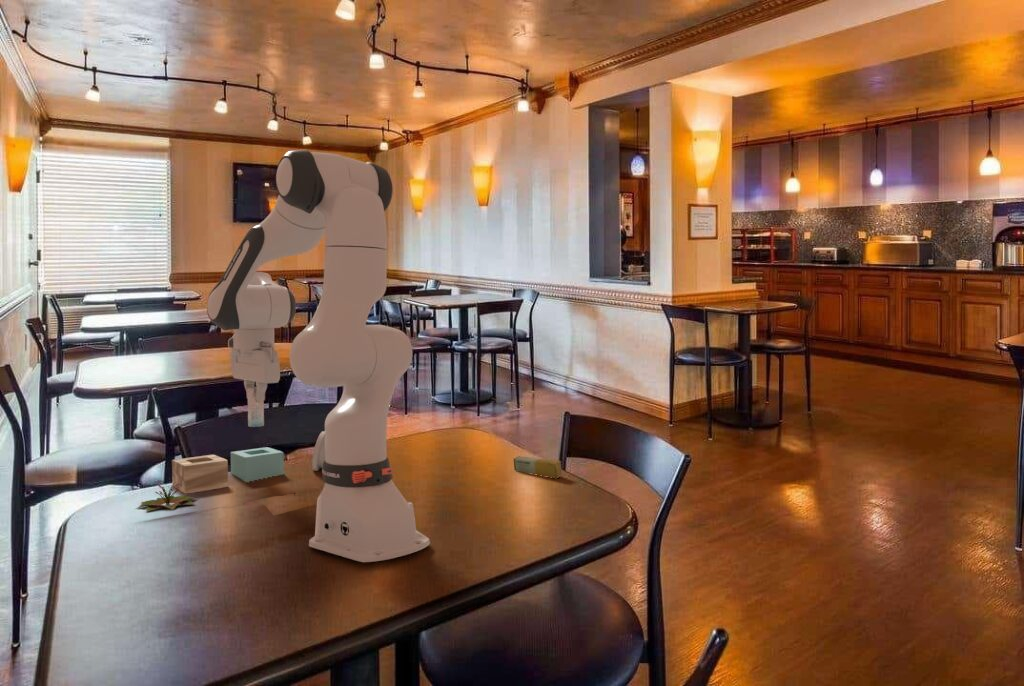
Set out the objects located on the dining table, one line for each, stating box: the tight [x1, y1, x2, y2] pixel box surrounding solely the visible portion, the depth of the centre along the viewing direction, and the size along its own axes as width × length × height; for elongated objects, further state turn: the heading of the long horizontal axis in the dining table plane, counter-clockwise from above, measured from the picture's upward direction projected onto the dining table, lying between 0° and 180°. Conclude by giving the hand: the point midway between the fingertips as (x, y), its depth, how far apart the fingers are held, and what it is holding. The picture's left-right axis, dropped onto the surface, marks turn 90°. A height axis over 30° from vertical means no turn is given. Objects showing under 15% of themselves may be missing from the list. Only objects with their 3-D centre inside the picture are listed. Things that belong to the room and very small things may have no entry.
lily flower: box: [135, 482, 197, 513], centre depth 141 cm, size 12×12×5 cm
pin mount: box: [171, 454, 229, 495], centre depth 155 cm, size 9×9×6 cm
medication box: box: [513, 455, 563, 480], centre depth 163 cm, size 12×3×4 cm, turn 55°
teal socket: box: [230, 446, 285, 483], centre depth 164 cm, size 9×9×6 cm
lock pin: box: [247, 386, 265, 428], centre depth 163 cm, size 4×4×9 cm
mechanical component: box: [311, 430, 325, 472], centre depth 169 cm, size 10×4×10 cm, turn 179°
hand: (255, 400), depth 163 cm, fingers closed on lock pin, 3 cm apart
